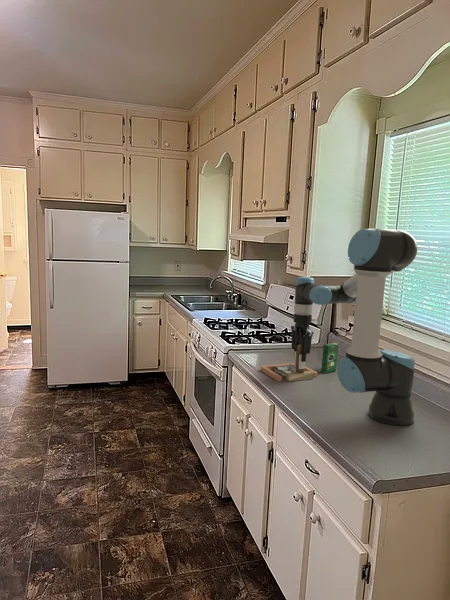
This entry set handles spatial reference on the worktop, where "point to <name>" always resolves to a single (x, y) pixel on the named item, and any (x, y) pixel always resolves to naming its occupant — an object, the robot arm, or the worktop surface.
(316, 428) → the worktop surface
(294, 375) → the wooden scraper
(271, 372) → the tile bay
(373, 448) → the worktop surface
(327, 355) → the coffee box
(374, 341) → the robot arm
